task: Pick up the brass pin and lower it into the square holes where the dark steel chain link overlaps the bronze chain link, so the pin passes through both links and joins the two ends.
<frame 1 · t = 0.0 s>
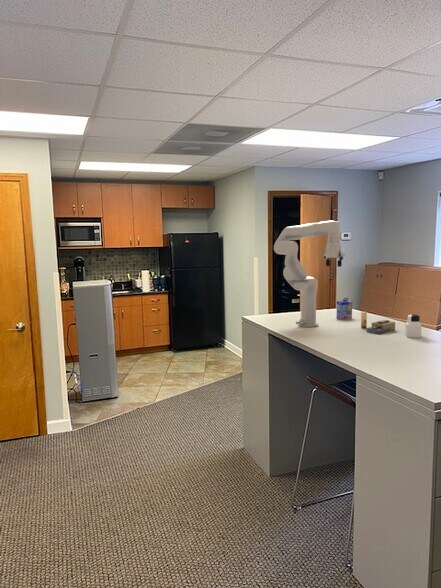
hand: (333, 266, 281), 37 cm above the table, tool pointing down, fingers open, 9 cm apart
pin: (363, 328, 260), on the table
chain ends: (380, 331, 250), on the table
ink cartridge box: (344, 318, 292), on the table
medicine bottle: (412, 336, 236), on the table
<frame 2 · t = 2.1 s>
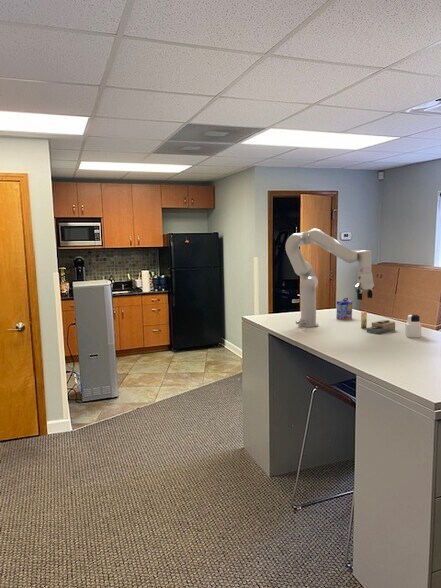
hand: (364, 298, 258), 18 cm above the table, tool pointing down, fingers open, 9 cm apart
nothing on the table moved.
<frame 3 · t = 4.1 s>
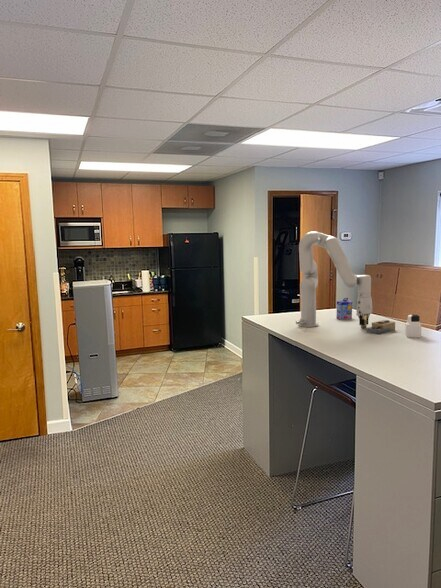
hand: (363, 324, 260), 2 cm above the table, tool pointing down, fingers closed on pin, 3 cm apart
pin: (363, 328, 260), on the table, touching gripper
everything else where it was.
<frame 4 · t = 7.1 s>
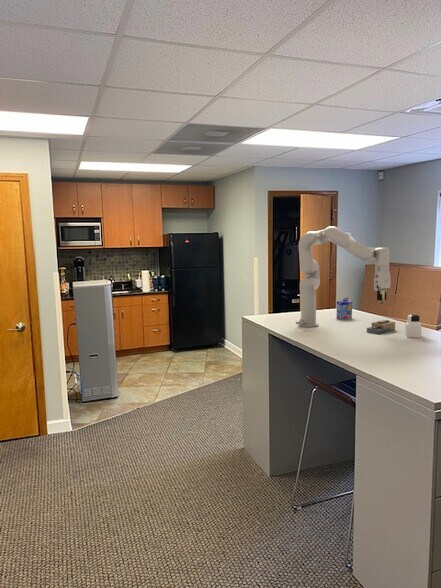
hand: (381, 299, 248), 19 cm above the table, tool pointing down, fingers closed on pin, 3 cm apart
pin: (381, 303, 248), point 17 cm above the table, touching gripper
everything else where it was.
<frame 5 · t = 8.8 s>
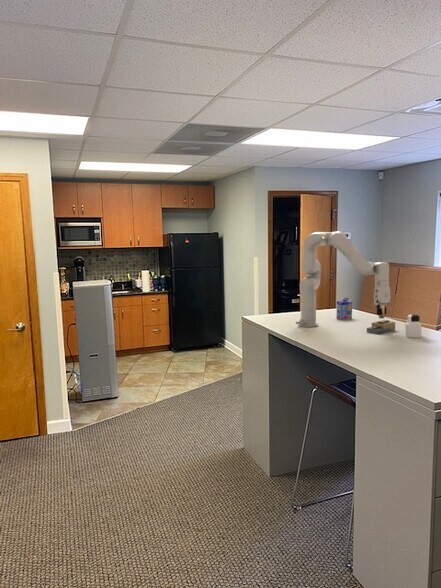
hand: (381, 314, 249), 10 cm above the table, tool pointing down, fingers closed on pin, 3 cm apart
pin: (381, 317, 249), point 8 cm above the table, touching gripper
everything else where it was.
when the fingers open (6 cm above the table, at t = 10.1 s): pin drops 4 cm, resting in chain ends.
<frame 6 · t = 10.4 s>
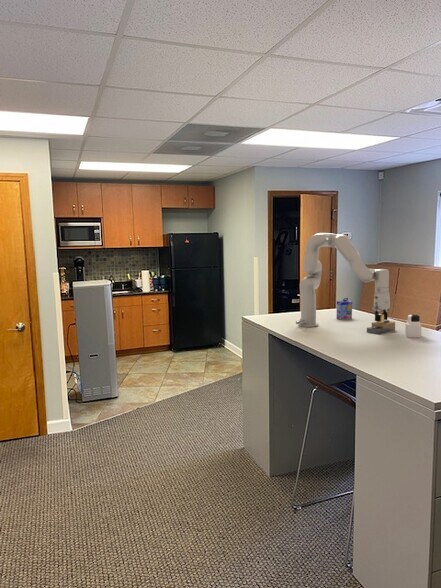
hand: (381, 320, 249), 7 cm above the table, tool pointing down, fingers open, 6 cm apart
pin: (380, 331, 250), resting in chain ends
everything else where it was.
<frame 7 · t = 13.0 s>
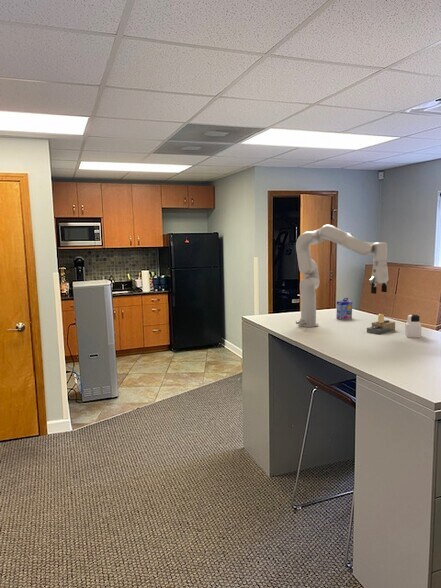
hand: (378, 292, 249), 23 cm above the table, tool pointing down, fingers open, 9 cm apart
nothing on the table moved.
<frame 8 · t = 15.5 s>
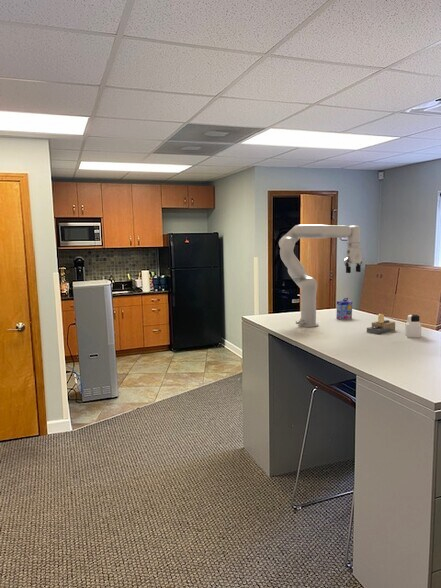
hand: (353, 272, 270), 33 cm above the table, tool pointing down, fingers open, 9 cm apart
nothing on the table moved.
at the end: pin 0.0 cm off-centre on the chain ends, point 0.0 cm above the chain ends's base; pin tilted 0°; the gripper is holding nothing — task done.
